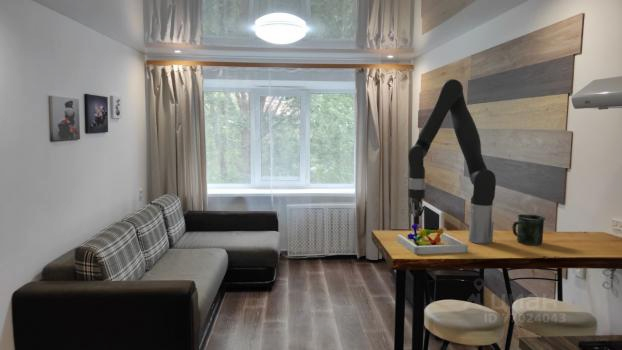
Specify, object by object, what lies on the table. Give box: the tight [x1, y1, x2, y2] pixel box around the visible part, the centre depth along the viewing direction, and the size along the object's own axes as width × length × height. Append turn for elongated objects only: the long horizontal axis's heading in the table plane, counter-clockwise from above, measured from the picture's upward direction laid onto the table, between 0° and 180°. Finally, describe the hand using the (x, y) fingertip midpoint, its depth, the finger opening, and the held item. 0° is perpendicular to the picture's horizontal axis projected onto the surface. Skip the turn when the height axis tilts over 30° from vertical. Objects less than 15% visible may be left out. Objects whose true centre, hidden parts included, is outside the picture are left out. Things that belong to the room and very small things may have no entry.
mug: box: [511, 213, 546, 246], centre depth 196 cm, size 11×15×12 cm
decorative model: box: [407, 224, 444, 246], centre depth 191 cm, size 13×9×15 cm
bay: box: [396, 232, 469, 255], centre depth 189 cm, size 23×20×3 cm
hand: (416, 224), depth 205 cm, fingers closed
